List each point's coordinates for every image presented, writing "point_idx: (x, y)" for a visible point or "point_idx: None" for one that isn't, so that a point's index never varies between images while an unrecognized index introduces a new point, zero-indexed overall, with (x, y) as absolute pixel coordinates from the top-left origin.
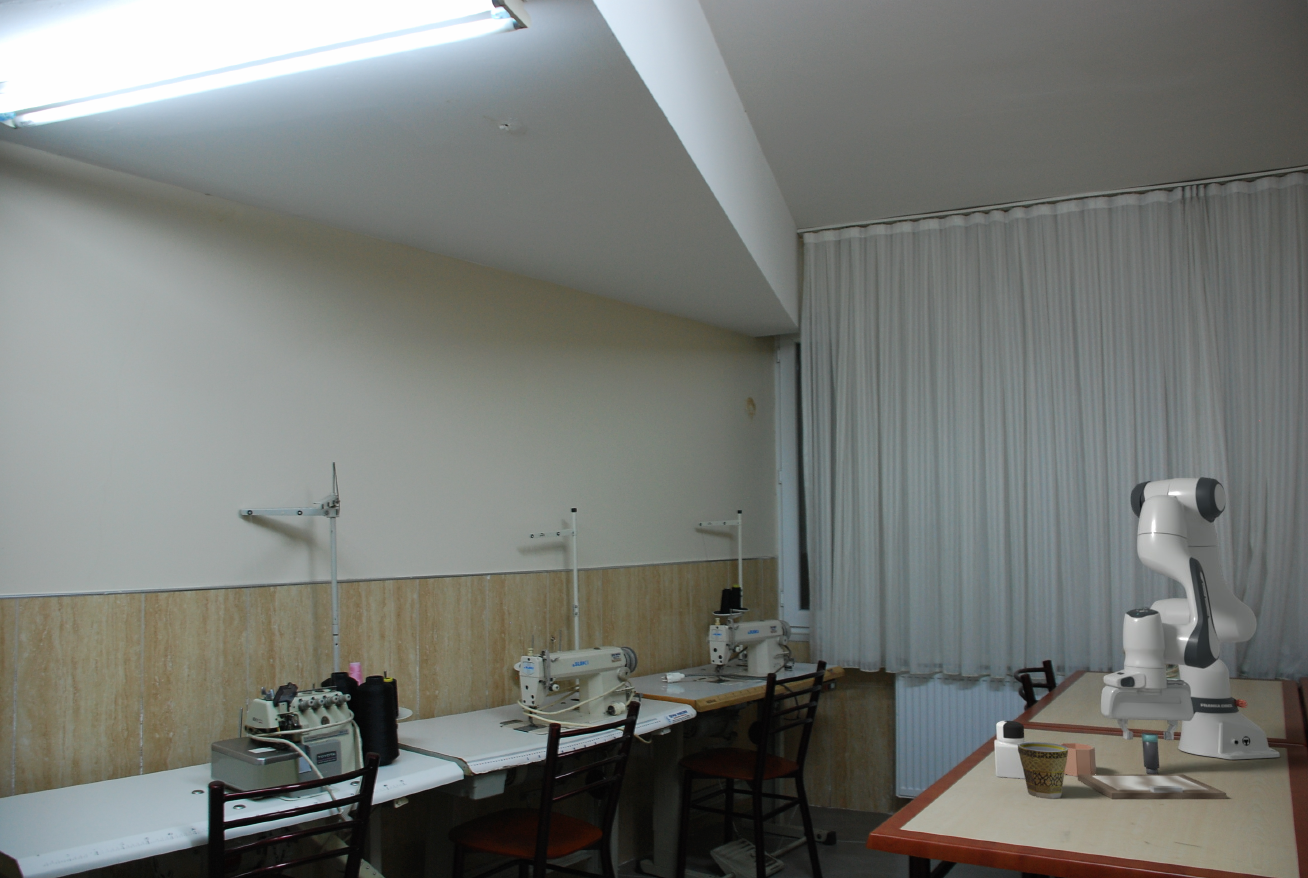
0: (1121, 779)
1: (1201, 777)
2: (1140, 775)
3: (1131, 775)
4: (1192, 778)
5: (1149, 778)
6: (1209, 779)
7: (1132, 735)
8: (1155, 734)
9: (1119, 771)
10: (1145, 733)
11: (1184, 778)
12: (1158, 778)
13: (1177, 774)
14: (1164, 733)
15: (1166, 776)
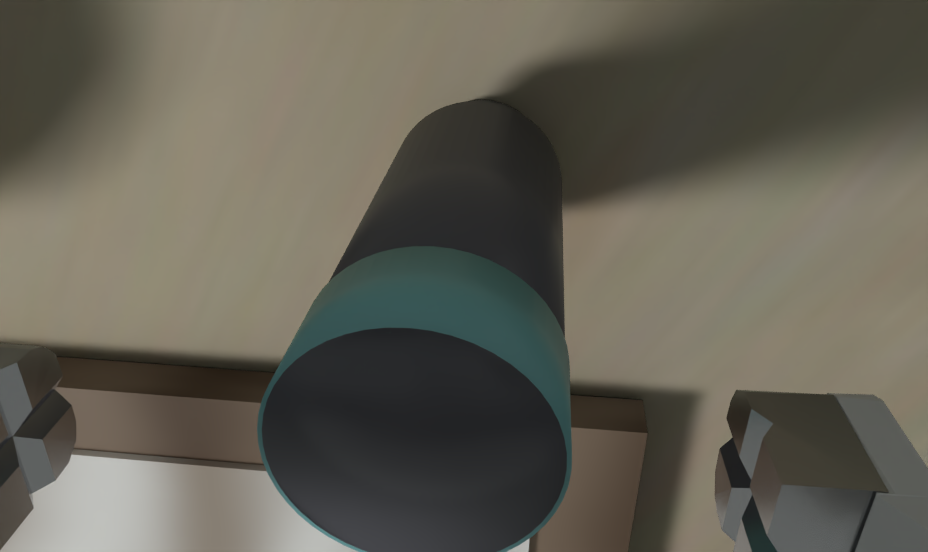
0: (19, 539)
1: (904, 331)
2: (222, 429)
3: (143, 423)
4: (627, 545)
5: (245, 537)
6: (914, 400)
7: (29, 500)
8: (508, 510)
9: (164, 36)
10: (344, 410)
11: (556, 539)
12: (319, 543)
13: (590, 426)
14: (762, 487)
15: None
